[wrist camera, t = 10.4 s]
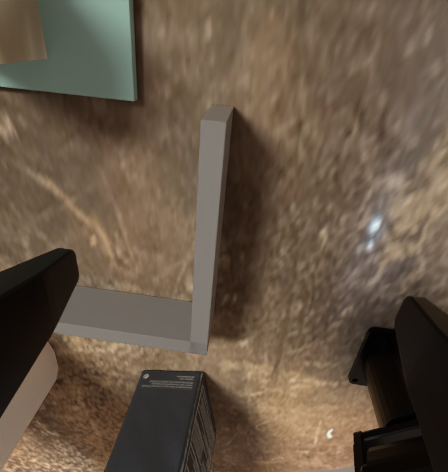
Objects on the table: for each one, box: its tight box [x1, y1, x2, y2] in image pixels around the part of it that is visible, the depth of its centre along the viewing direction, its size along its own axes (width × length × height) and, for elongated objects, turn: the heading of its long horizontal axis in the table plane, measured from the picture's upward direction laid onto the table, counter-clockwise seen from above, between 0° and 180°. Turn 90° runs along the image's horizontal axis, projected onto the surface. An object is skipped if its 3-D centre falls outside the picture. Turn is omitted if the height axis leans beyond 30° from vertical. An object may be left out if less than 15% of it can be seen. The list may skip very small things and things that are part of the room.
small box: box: [104, 370, 216, 472], centre depth 30 cm, size 11×6×10 cm, turn 6°
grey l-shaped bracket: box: [53, 104, 234, 355], centre depth 22 cm, size 16×25×4 cm, turn 85°
